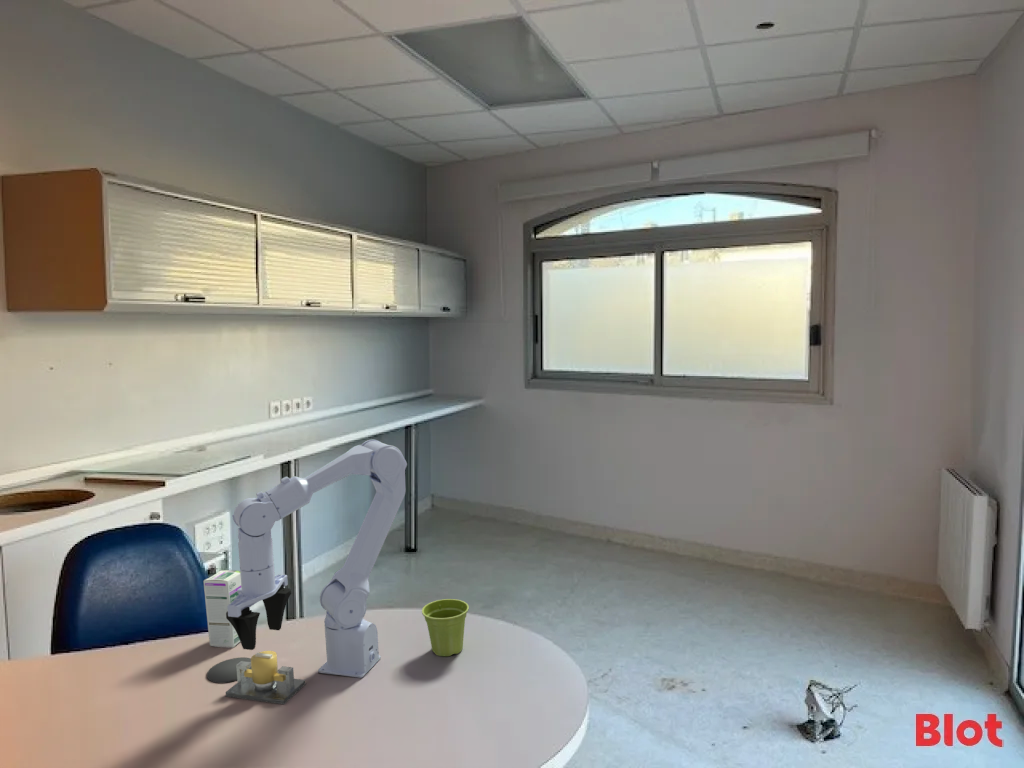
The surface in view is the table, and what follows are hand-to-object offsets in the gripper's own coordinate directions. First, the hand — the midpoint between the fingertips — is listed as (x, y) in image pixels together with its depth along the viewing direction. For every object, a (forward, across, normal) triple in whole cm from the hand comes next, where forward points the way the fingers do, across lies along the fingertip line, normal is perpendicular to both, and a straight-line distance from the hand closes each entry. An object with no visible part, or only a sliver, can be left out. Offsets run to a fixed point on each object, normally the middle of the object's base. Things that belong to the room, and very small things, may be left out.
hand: (262, 638), depth 124 cm
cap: (+7, 0, 0) cm, 7 cm away
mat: (+10, -5, -11) cm, 15 cm away
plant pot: (+10, -21, +27) cm, 36 cm away
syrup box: (+10, -15, -20) cm, 27 cm away
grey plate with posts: (+10, 0, 0) cm, 10 cm away
